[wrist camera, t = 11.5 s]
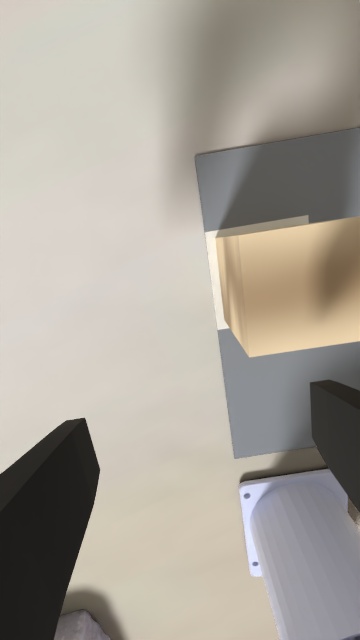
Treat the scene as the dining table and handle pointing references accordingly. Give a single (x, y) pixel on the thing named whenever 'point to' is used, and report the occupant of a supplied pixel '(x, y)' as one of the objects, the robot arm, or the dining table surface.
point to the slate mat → (264, 214)
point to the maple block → (292, 286)
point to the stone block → (79, 627)
